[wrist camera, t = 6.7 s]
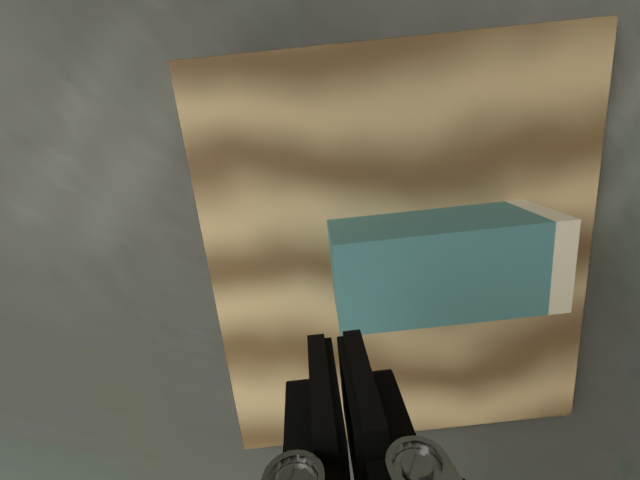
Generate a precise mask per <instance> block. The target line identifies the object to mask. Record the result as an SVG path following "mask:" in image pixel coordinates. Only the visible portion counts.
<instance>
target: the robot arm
mask: <svg viewBox="0 0 640 480" xmlns="http://www.w3.org/2000/svg"><path fill="white" fill-rule="evenodd" d="M307 345H308V366H309V379H302V380H293V381H286V391H285V415H284V440H283V453H282V454H279V455H278V456H277V457H275V458H274V459H273V460H271V462H270V463H269V464H268V465H267V467H266V468H265V471H264V473H263V475H262V479H261V480H350V470H349V460H348V449H347V440H346V431H345V424H344V417H343V411H342V404H341V398H340V391H339V384H338V378H337V371H336V365H335V358H334V352H333V345H332V338H331V337H330V338H325V337H324V334H315V335H307ZM337 346H338V357H339V367H340V378H341V388H342V399H343V409H344V416H345V423H346V429H347V436H348V442H349V448H350V455H351V461H352V468H353V474H354V480H465V479H463V478H462V477H461V476H460V474H459V473H458V471H457V470H456V468H455V466H454V465H453V463H452V462H451V460H450V458H449V457H448V455H447V454H446V452H445V451H444V450H443V449H442V448H441V446H440V445H438V444H437V443H435V442H434V441H432V440H430V439H428V438H425V437H422V436H416V433H415V431H414V428H413V425H412V422H411V420H410V417H409V414H408V412H407V409H406V406H405V403H404V401H403V398H402V395H401V393H400V390H399V387H398V384H397V382H396V379H395V376H394V374H393V371H392V370H391V369H386V370H377V371H372V369H371V366H370V362H369V359H368V355H367V352H366V348H365V345H364V341H363V338H362V334H361V331H360V329H358V330H349V331H343V336H338V337H337Z"/></svg>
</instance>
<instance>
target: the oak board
mask: <svg viewBox="0 0 640 480" xmlns="http://www.w3.org/2000/svg"><path fill="white" fill-rule="evenodd" d="M617 22H618V15H613V16H603V17H593V18H583V19H574V20H564V21H554V22H544V23H534V24H524V25H515V26H505V27H495V28H485V29H475V30H465V31H456V32H446V33H436V34H426V35H416V36H406V37H397V38H387V39H377V40H367V41H357V42H347V43H338V44H328V45H318V46H308V47H298V48H288V49H279V50H269V51H259V52H249V53H239V54H229V55H220V56H210V57H200V58H190V59H180V60H170V61H168V64H169V70H170V75H171V80H172V85H173V90H174V95H175V100H176V105H177V110H178V115H179V120H180V125H181V130H182V135H183V140H184V145H185V151H186V156H187V161H188V166H189V171H190V176H191V181H192V186H193V191H194V196H195V201H196V206H197V211H198V216H199V221H200V226H201V232H202V237H203V242H204V247H205V252H206V257H207V262H208V267H209V272H210V277H211V282H212V287H213V292H214V297H215V302H216V307H217V313H218V318H219V323H220V328H221V333H222V338H223V343H224V348H225V353H226V358H227V363H228V368H229V373H230V378H231V383H232V388H233V394H234V399H235V404H236V409H237V414H238V419H239V424H240V429H241V434H242V439H243V444H244V449H254V448H263V447H272V446H281V445H283V440H284V415H285V391H286V381H293V380H302V379H309V366H308V345H307V335H315V334H324V337H325V338H330V337H331V338H332V345H333V352H334V358H335V365H336V371H337V378H338V384H339V391H340V398H341V404H342V411H343V417H344V424H345V431H346V439H347V438H348V436H347V429H346V423H345V416H344V409H343V399H342V388H341V378H340V367H339V357H338V346H337V337H338V336H340V330H339V324H338V317H337V311H336V305H335V299H334V291H333V281H332V270H331V260H330V249H329V239H328V229H327V220H330V219H340V218H349V217H359V216H368V215H378V214H388V213H397V212H407V211H416V210H426V209H436V208H445V207H455V206H464V205H474V204H484V203H493V202H503V201H512V200H522V199H525V200H528V201H531V202H534V203H536V204H539V205H542V206H545V207H548V208H551V209H553V210H556V211H559V212H562V213H565V214H568V215H570V216H573V217H576V218H579V219H581V226H580V235H579V244H578V254H577V263H576V272H575V282H574V291H573V300H572V309H571V313H563V314H553V315H544V316H535V317H525V318H516V319H506V320H497V321H487V322H478V323H468V324H459V325H450V326H440V327H431V328H421V329H412V330H402V331H393V332H383V333H374V334H365V335H362V338H363V341H364V345H365V348H366V352H367V355H368V359H369V362H370V366H371V369H372V371H377V370H386V369H391V370H392V371H393V374H394V376H395V379H396V382H397V384H398V387H399V390H400V393H401V395H402V398H403V401H404V403H405V406H406V409H407V412H408V414H409V417H410V420H411V422H412V425H413V428H414V431H421V430H431V429H440V428H449V427H459V426H468V425H477V424H487V423H496V422H505V421H514V420H524V419H533V418H542V417H552V416H561V415H570V414H571V412H572V404H573V395H574V387H575V378H576V370H577V361H578V353H579V344H580V336H581V328H582V319H583V311H584V302H585V294H586V285H587V277H588V268H589V260H590V251H591V243H592V234H593V226H594V217H595V209H596V200H597V192H598V183H599V175H600V166H601V158H602V149H603V141H604V132H605V124H606V115H607V107H608V98H609V90H610V81H611V73H612V64H613V56H614V47H615V39H616V30H617Z"/></svg>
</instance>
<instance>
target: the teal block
mask: <svg viewBox="0 0 640 480" xmlns="http://www.w3.org/2000/svg"><path fill="white" fill-rule="evenodd" d="M580 226H581V219H579V218H576V217H573V216H570V215H568V214H565V213H562V212H559V211H556V210H553V209H551V208H548V207H545V206H542V205H539V204H536V203H534V202H531V201H528V200H525V199H522V200H512V201H503V202H493V203H484V204H474V205H464V206H455V207H445V208H436V209H426V210H416V211H407V212H397V213H388V214H378V215H368V216H359V217H349V218H340V219H330V220H327V229H328V239H329V249H330V260H331V270H332V281H333V291H334V299H335V305H336V311H337V317H338V324H339V330H340V336H343V331H349V330H358V329H360V331H361V334H362V335H365V334H374V333H383V332H393V331H402V330H412V329H421V328H431V327H440V326H450V325H459V324H468V323H478V322H487V321H497V320H506V319H516V318H525V317H535V316H544V315H553V314H563V313H571V309H572V300H573V291H574V282H575V272H576V263H577V254H578V244H579V235H580Z"/></svg>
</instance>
